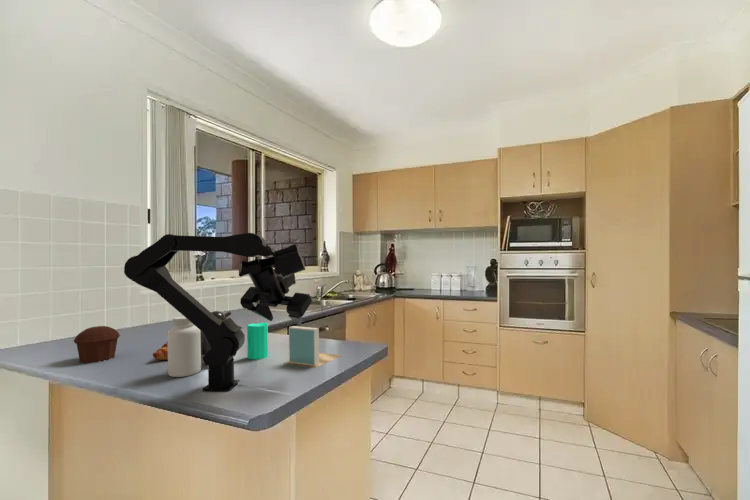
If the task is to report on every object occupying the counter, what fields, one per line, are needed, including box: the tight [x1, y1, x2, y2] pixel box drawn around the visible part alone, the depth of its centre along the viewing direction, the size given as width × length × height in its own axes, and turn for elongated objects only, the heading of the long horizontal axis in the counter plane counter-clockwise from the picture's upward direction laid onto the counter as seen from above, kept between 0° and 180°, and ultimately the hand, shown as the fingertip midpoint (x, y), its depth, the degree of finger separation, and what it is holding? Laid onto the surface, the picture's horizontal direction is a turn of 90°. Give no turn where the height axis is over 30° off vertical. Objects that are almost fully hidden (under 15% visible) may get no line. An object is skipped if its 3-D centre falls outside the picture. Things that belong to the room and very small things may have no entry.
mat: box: [283, 352, 343, 369], centre depth 111 cm, size 14×11×1 cm
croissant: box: [152, 340, 168, 361], centre depth 122 cm, size 21×10×8 cm, turn 159°
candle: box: [246, 318, 269, 360], centre depth 115 cm, size 6×6×12 cm
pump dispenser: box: [200, 310, 232, 364], centre depth 111 cm, size 10×10×15 cm
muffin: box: [73, 325, 121, 364], centre depth 118 cm, size 12×11×10 cm
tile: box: [288, 325, 320, 366], centre depth 107 cm, size 2×9×10 cm, turn 63°
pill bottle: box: [167, 315, 202, 378], centre depth 101 cm, size 8×8×15 cm
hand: (285, 322), depth 103 cm, fingers open, 9 cm apart
